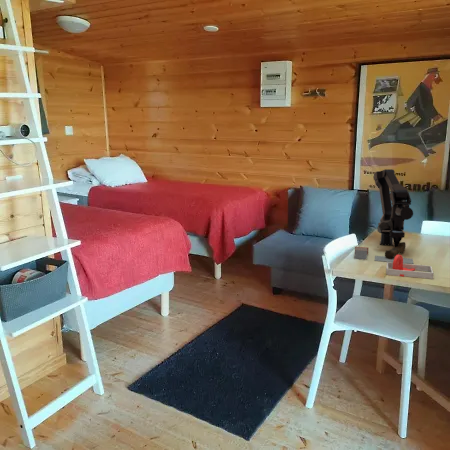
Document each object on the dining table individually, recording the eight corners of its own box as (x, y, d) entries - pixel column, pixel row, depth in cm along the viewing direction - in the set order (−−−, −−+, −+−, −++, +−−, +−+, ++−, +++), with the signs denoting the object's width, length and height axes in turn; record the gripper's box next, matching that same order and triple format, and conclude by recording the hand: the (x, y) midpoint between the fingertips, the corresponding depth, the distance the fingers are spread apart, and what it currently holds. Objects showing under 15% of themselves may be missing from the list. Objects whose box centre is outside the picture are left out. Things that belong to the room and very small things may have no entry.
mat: (374, 256, 203) (374, 255, 203) (412, 259, 198) (412, 258, 198) (374, 260, 196) (374, 260, 196) (413, 264, 191) (413, 263, 191)
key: (354, 253, 207) (355, 246, 206) (368, 254, 205) (368, 247, 204) (353, 256, 201) (354, 250, 200) (367, 258, 199) (368, 251, 198)
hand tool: (392, 259, 196) (393, 249, 195) (384, 258, 199) (385, 248, 198) (410, 252, 210) (411, 242, 209) (402, 250, 212) (402, 241, 211)
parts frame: (386, 267, 186) (386, 262, 186) (430, 271, 181) (431, 265, 180) (386, 274, 177) (386, 269, 177) (433, 278, 172) (433, 273, 171)
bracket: (403, 277, 175) (404, 258, 173) (392, 275, 178) (393, 256, 176) (415, 271, 183) (417, 252, 181) (405, 268, 186) (406, 250, 184)
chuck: (355, 255, 204) (355, 247, 203) (366, 256, 203) (367, 248, 202) (354, 258, 200) (355, 250, 199) (366, 259, 198) (366, 250, 197)
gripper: (380, 211, 219) (378, 241, 223) (379, 218, 202) (377, 251, 205) (404, 212, 216) (401, 243, 219) (405, 219, 198) (403, 253, 202)
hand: (395, 247), depth 211 cm, fingers closed
